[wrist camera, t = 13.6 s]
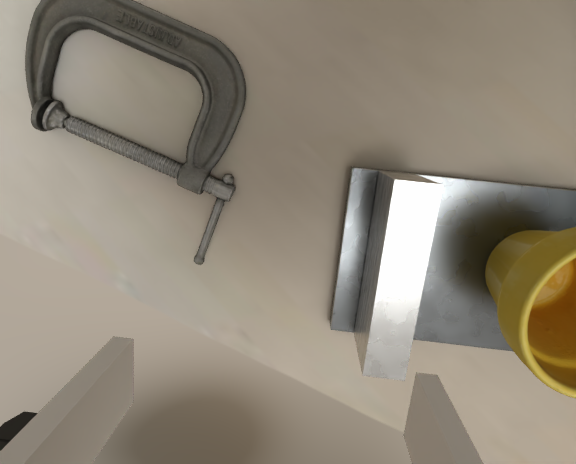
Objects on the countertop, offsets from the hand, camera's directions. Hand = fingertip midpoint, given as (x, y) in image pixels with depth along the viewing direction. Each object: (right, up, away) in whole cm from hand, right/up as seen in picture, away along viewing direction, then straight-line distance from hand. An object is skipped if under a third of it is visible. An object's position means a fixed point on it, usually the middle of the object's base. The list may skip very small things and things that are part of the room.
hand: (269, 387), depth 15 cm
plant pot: (+20, +3, +17) cm, 26 cm away
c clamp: (-12, +15, +18) cm, 26 cm away
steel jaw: (+9, +4, +17) cm, 20 cm away
